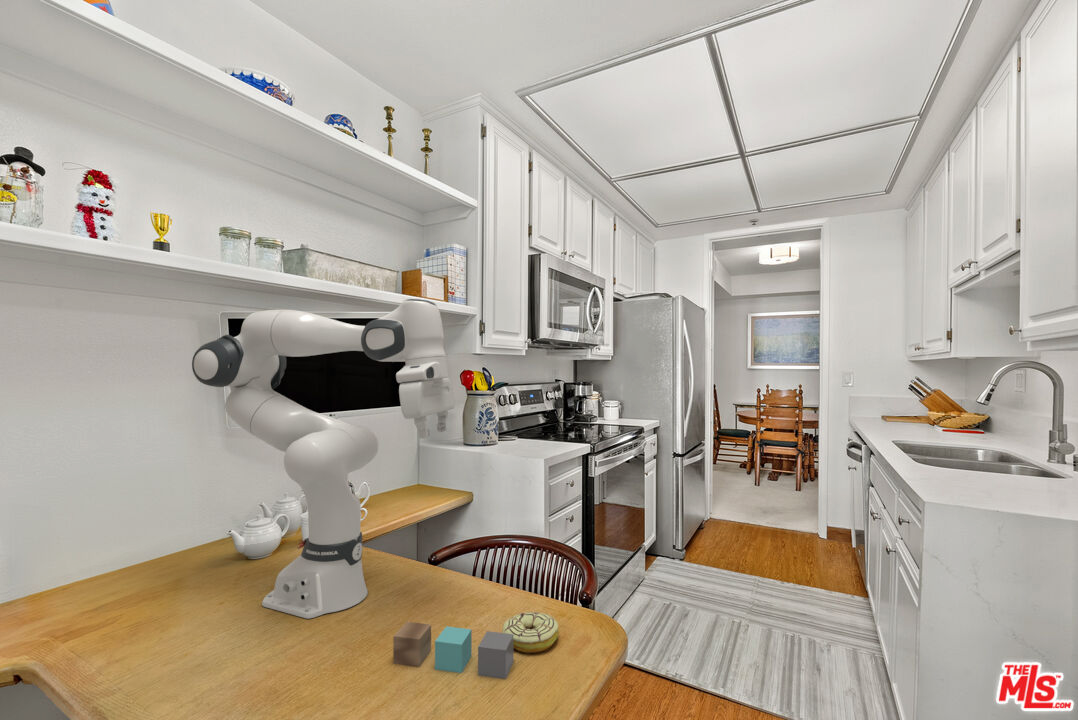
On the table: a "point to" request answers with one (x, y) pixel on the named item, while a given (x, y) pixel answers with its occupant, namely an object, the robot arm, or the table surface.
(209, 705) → the table surface
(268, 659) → the table surface
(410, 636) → the walnut cube
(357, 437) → the robot arm
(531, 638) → the decorated donut
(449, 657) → the teal cube
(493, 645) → the charcoal cube
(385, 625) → the table surface
